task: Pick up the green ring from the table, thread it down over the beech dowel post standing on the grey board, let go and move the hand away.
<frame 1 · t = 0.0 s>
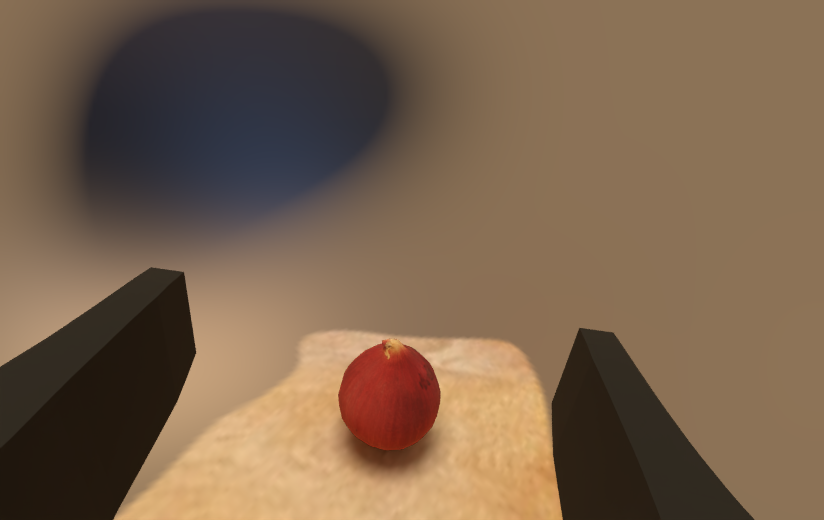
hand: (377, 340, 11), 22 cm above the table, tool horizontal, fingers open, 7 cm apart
onion: (384, 443, 37), on the table
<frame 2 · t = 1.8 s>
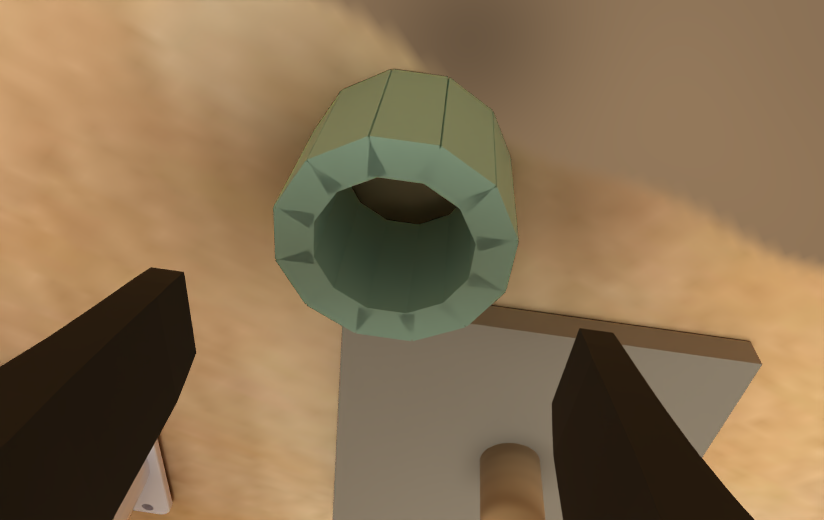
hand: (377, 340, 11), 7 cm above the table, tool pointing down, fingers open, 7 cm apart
green ring: (409, 168, 17), on the table
grey board: (508, 439, 23), on the table
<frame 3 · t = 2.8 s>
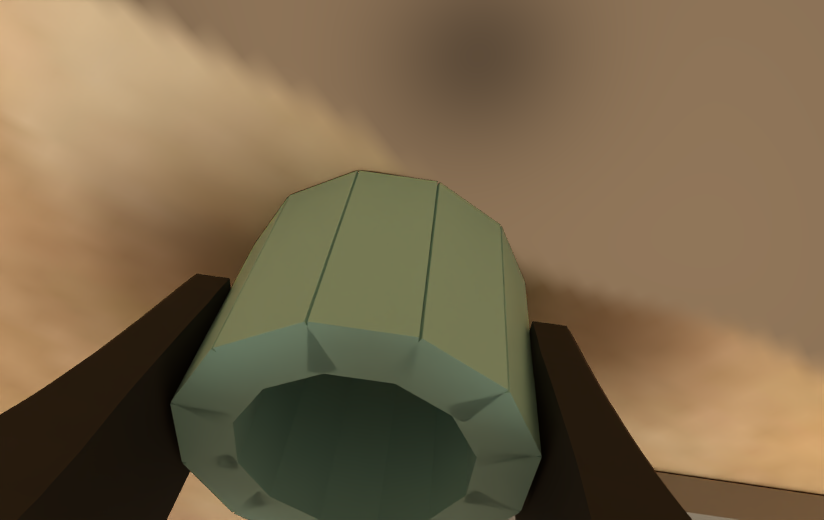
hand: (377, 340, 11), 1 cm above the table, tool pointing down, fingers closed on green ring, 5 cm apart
green ring: (386, 292, 12), on the table, touching gripper
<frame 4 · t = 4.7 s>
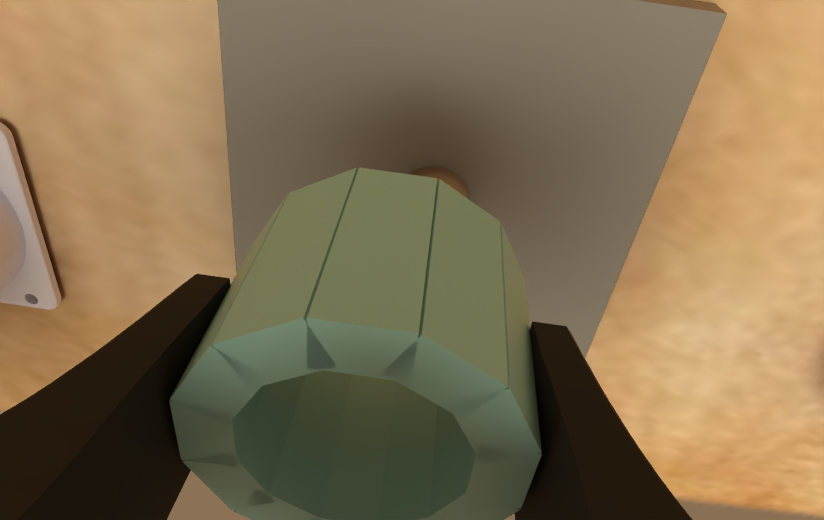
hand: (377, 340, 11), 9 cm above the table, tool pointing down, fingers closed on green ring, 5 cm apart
beech post: (428, 242, 17), on the grey board, point 4 cm above the table
green ring: (386, 289, 12), point 8 cm above the table, touching gripper
grey board: (435, 182, 20), on the table
when the fingers open (4 cm above the table, at t = 6.8 s): green ring drops 1 cm, resting on grey board.
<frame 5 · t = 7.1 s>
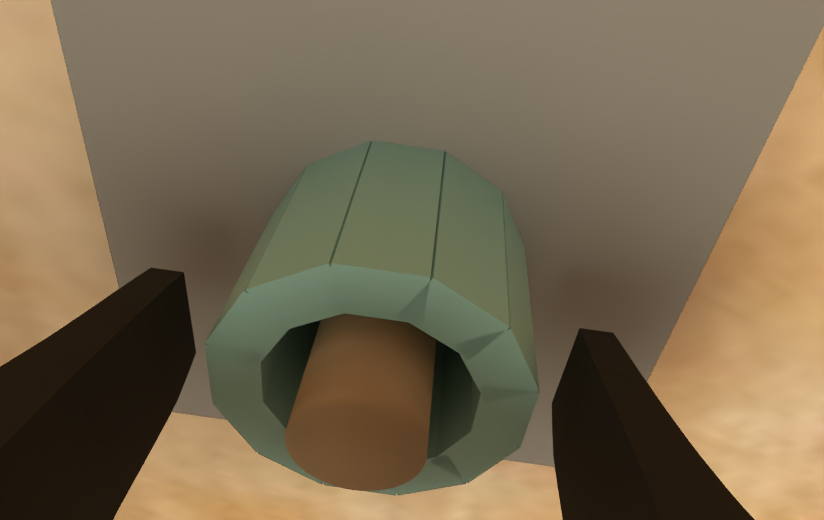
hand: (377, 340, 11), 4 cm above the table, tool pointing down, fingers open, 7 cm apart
beech post: (377, 336, 11), on the grey board, point 4 cm above the table
green ring: (395, 257, 13), point 1 cm above the table, touching grey board
grey board: (398, 232, 14), on the table
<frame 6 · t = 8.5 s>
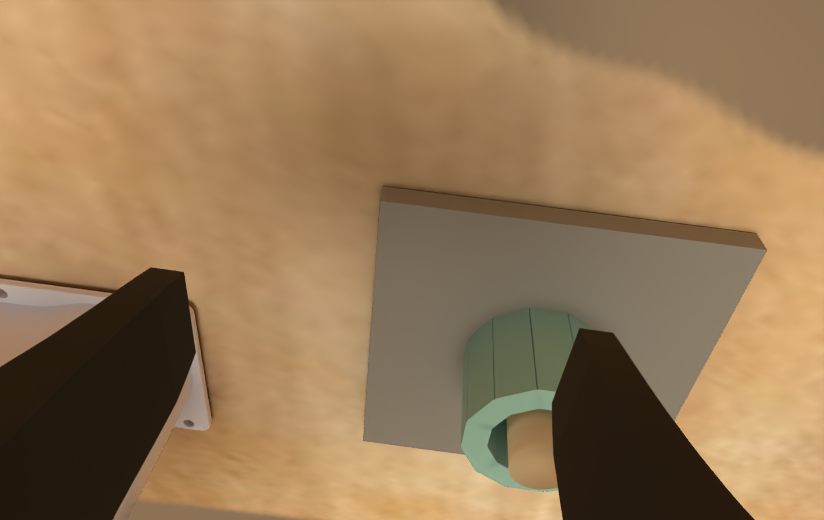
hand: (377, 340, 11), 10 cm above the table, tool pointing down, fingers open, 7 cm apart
beech post: (536, 410, 22), on the grey board, point 4 cm above the table
green ring: (533, 360, 24), point 1 cm above the table, touching grey board
grey board: (530, 343, 25), on the table
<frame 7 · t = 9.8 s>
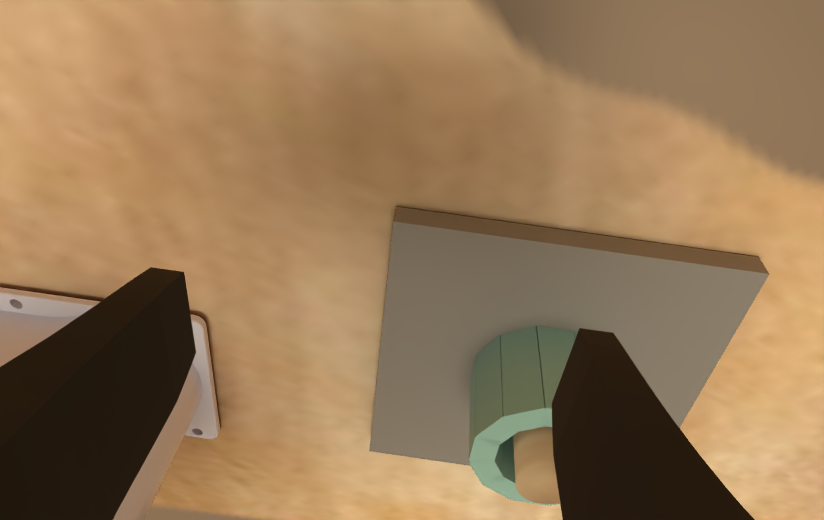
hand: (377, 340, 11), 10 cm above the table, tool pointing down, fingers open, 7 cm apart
beech post: (542, 426, 23), on the grey board, point 4 cm above the table
green ring: (538, 376, 25), point 1 cm above the table, touching grey board
grey board: (535, 359, 25), on the table
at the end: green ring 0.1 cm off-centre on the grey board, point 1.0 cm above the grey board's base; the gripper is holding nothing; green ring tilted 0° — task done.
